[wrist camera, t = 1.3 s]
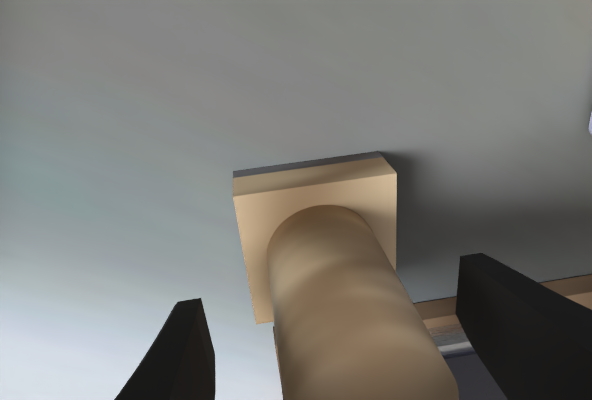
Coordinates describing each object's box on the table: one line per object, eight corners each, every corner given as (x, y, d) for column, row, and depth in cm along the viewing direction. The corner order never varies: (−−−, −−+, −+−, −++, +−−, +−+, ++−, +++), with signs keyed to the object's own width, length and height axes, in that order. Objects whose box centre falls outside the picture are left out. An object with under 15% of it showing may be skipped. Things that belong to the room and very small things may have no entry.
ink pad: (529, 311, 18) (548, 332, 17) (508, 423, 21) (523, 446, 20) (363, 339, 17) (371, 362, 16) (367, 449, 21) (374, 475, 20)
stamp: (377, 150, 15) (505, 300, 8) (378, 268, 17) (479, 467, 10) (233, 170, 15) (231, 345, 8) (254, 288, 17) (268, 507, 10)
